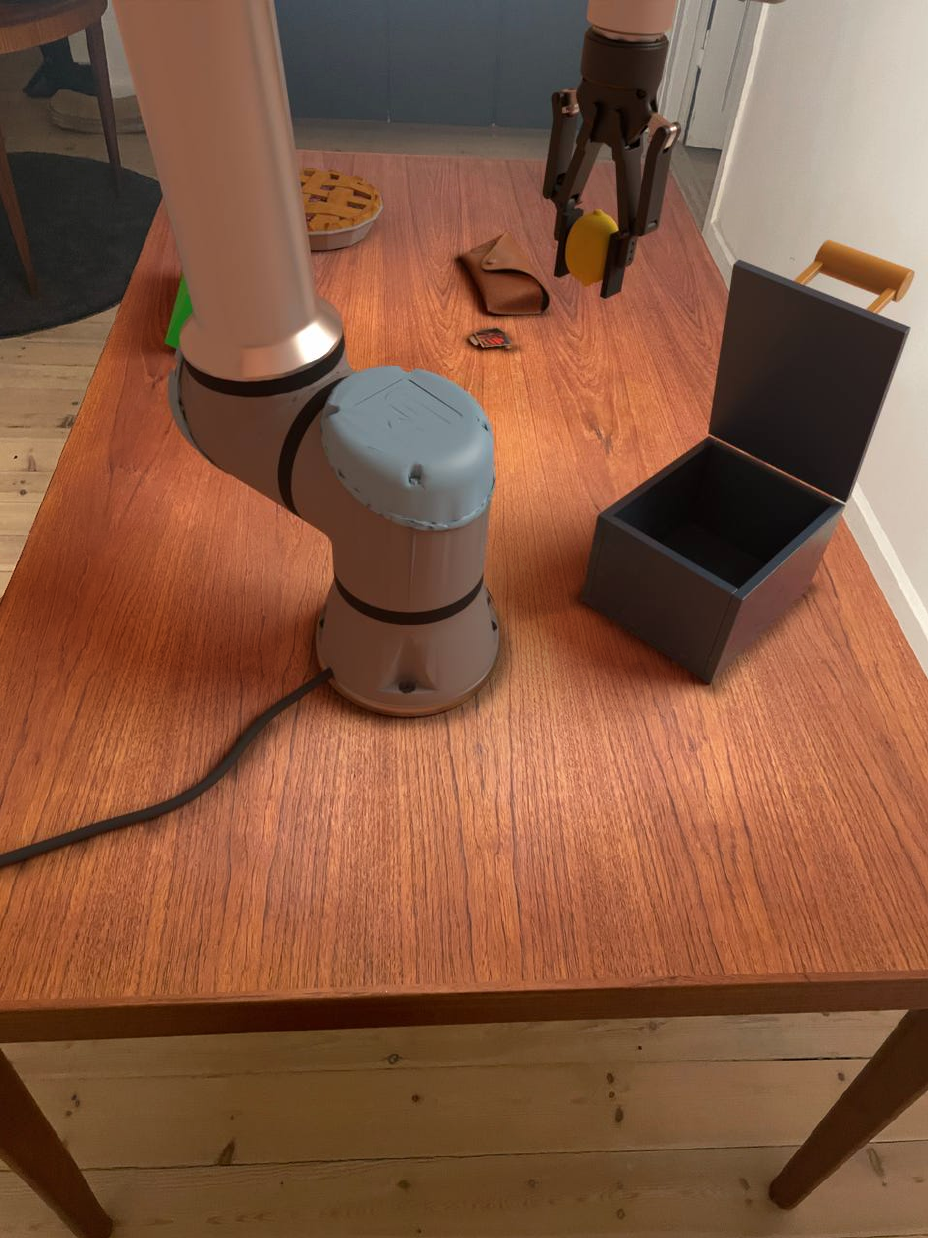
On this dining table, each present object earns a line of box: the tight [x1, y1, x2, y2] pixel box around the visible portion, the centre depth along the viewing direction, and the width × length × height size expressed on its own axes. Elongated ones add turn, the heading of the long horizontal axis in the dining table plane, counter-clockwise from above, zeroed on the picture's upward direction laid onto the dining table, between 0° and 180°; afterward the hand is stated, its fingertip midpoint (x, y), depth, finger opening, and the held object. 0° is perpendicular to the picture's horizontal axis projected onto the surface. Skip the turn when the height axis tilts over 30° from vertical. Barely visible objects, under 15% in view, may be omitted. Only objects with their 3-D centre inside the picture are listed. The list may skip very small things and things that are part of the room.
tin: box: [580, 435, 846, 685], centre depth 79 cm, size 17×14×10 cm
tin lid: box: [707, 239, 915, 504], centre depth 74 cm, size 18×14×9 cm
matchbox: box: [468, 327, 514, 350], centre depth 113 cm, size 5×5×1 cm
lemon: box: [565, 208, 618, 288], centre depth 94 cm, size 6×6×8 cm
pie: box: [299, 167, 384, 251], centre depth 132 cm, size 22×22×5 cm
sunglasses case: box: [458, 229, 551, 316], centre depth 123 cm, size 18×7×7 cm, turn 15°
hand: (587, 282), depth 97 cm, fingers closed on lemon, 5 cm apart
